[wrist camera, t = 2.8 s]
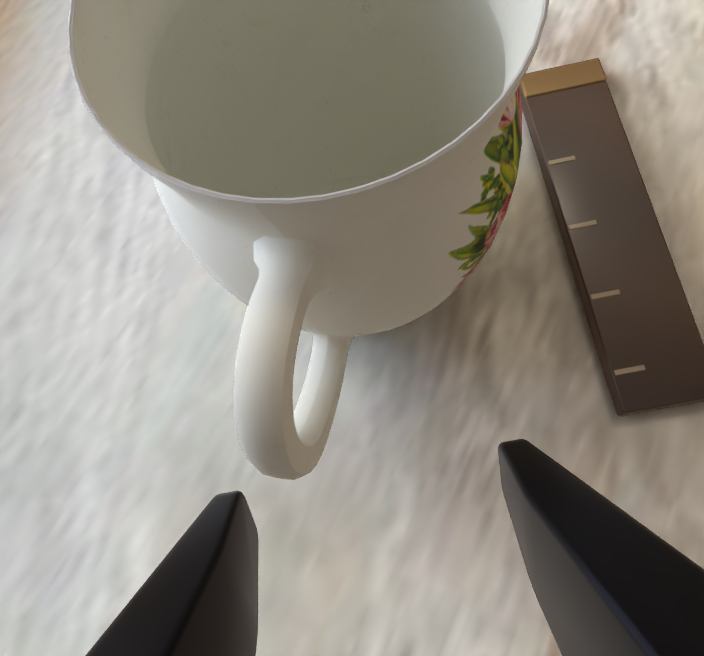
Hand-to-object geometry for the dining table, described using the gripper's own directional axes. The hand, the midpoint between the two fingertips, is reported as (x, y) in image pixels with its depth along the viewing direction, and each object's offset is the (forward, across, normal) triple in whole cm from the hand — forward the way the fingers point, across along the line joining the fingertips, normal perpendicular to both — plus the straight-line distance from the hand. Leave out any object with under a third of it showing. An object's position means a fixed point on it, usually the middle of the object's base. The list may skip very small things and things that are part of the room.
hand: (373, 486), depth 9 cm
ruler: (+16, -10, +3) cm, 19 cm away
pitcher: (+16, 0, +3) cm, 16 cm away
